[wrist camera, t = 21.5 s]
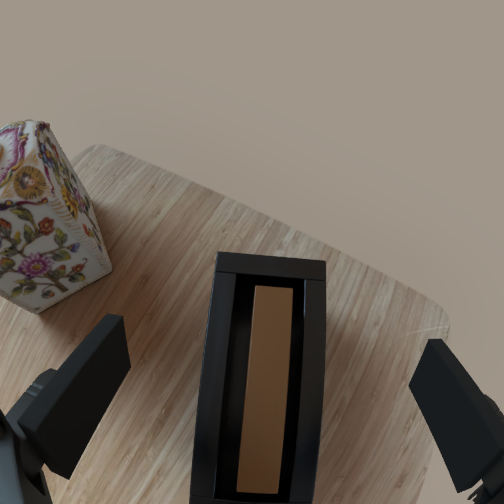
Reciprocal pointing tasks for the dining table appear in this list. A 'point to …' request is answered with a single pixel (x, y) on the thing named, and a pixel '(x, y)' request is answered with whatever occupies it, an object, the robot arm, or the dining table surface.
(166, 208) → the dining table surface
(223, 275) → the black open box
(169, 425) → the dining table surface
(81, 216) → the decorative jar
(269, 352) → the thin brown wooden plank
